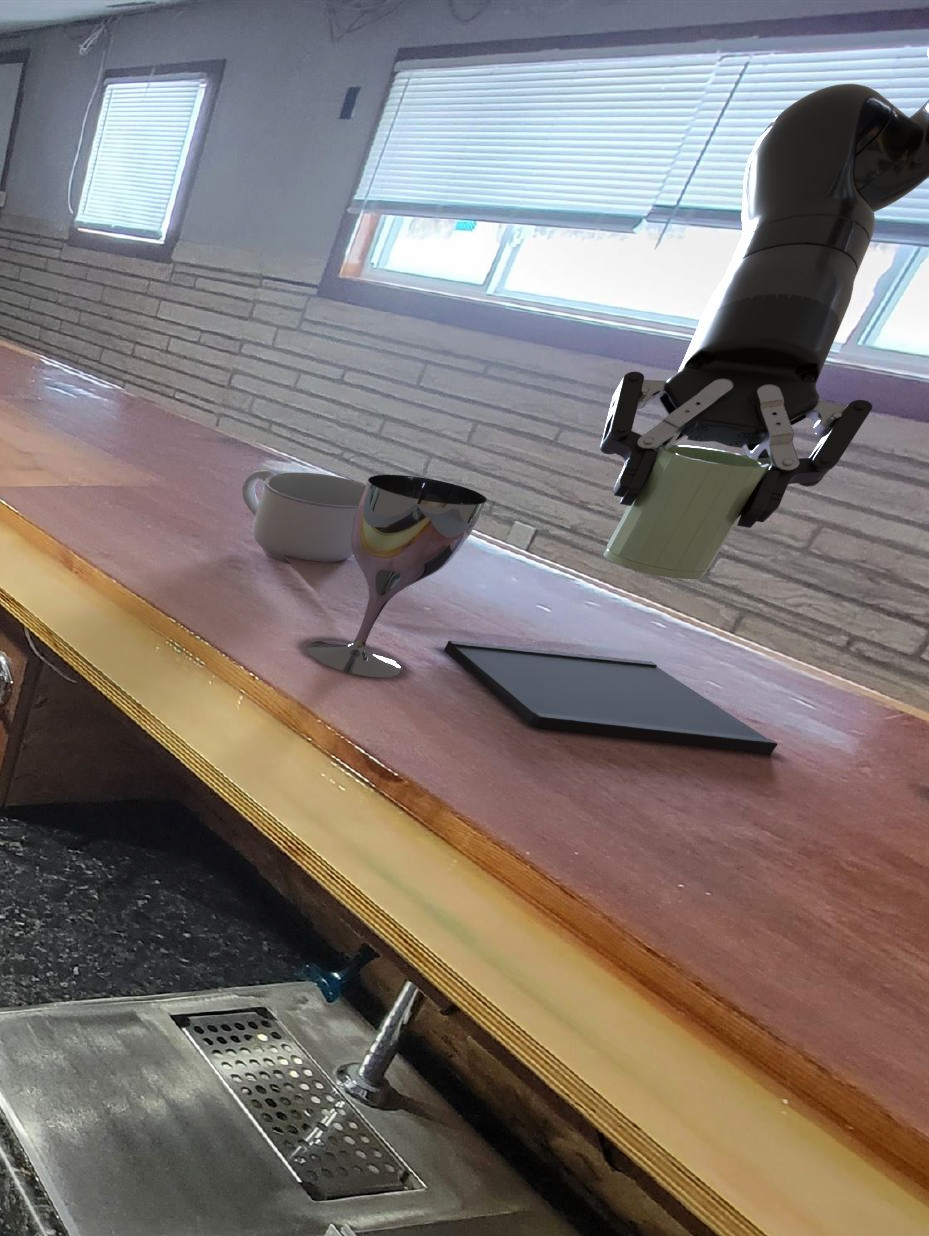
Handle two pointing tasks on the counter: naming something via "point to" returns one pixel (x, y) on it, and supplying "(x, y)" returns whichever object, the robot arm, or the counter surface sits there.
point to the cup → (685, 511)
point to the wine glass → (399, 553)
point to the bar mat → (604, 697)
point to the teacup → (303, 514)
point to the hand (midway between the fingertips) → (688, 509)
